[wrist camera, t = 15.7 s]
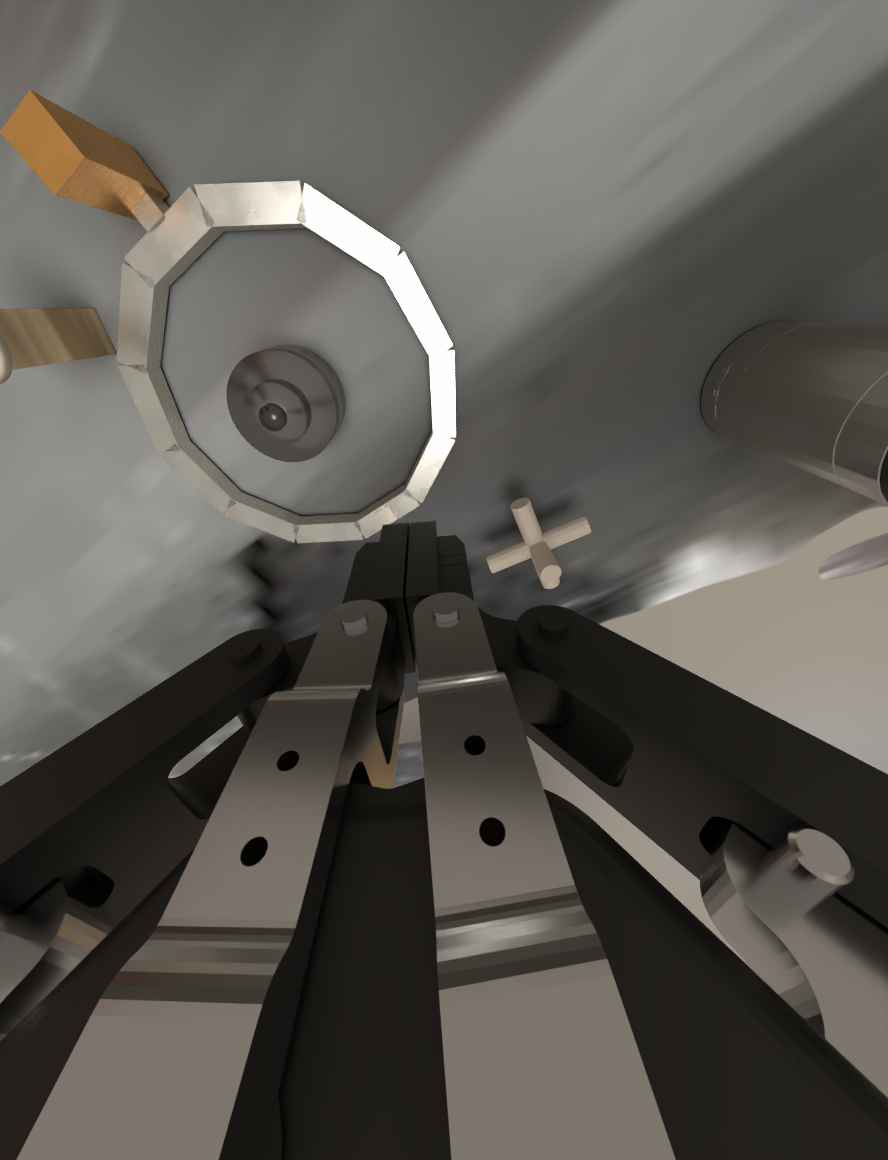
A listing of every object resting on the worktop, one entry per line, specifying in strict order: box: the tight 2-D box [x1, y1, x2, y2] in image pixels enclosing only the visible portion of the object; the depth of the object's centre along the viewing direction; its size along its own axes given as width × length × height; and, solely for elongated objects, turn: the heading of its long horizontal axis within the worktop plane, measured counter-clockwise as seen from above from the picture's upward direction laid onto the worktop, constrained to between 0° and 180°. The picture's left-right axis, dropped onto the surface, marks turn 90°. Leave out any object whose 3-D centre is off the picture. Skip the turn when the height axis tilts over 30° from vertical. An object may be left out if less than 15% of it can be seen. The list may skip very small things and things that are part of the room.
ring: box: [0, 90, 456, 543], centre depth 30 cm, size 26×30×8 cm
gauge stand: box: [0, 308, 117, 384], centre depth 26 cm, size 4×4×11 cm
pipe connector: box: [486, 498, 591, 589], centre depth 38 cm, size 10×10×10 cm
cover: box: [227, 345, 345, 462], centre depth 31 cm, size 8×8×8 cm
